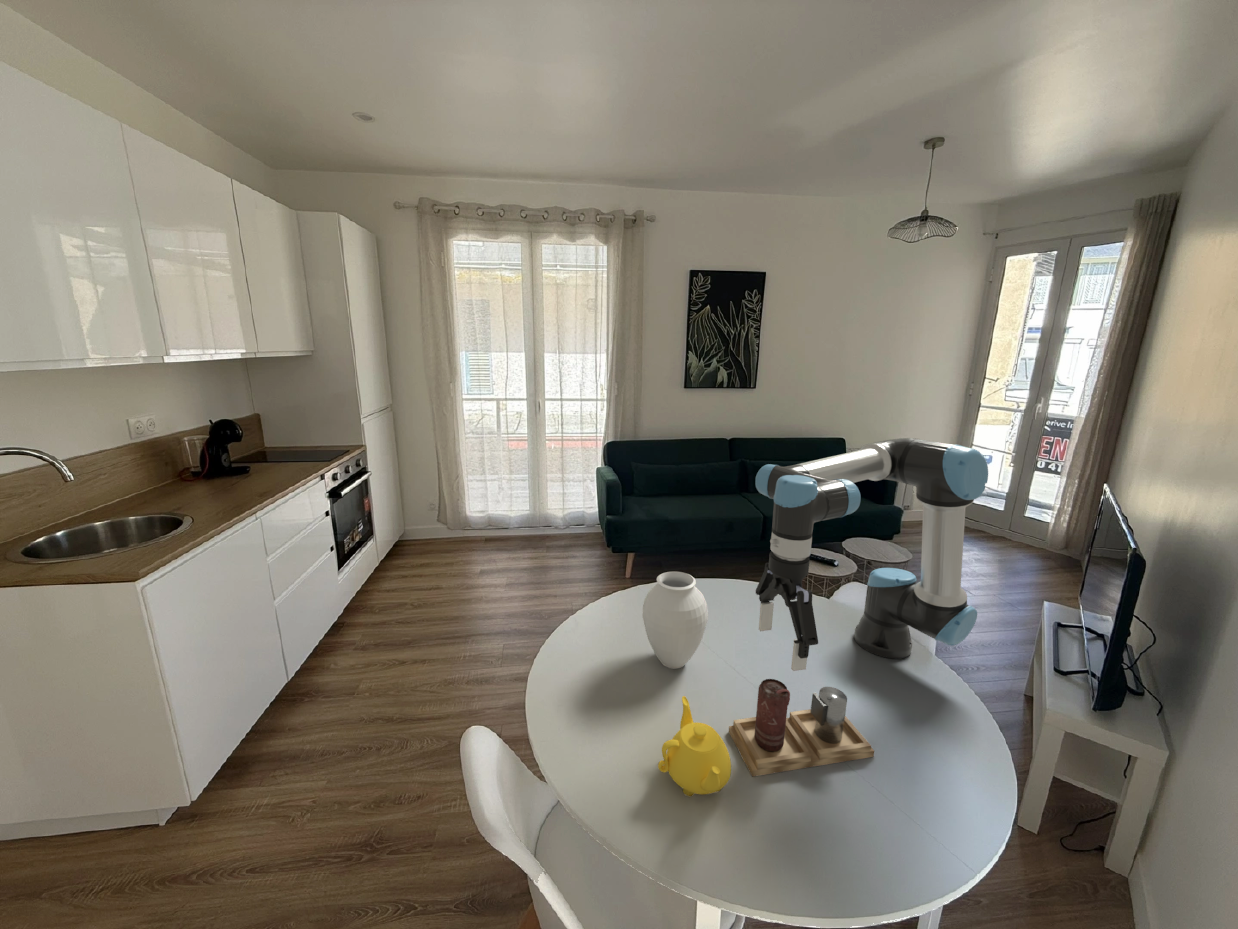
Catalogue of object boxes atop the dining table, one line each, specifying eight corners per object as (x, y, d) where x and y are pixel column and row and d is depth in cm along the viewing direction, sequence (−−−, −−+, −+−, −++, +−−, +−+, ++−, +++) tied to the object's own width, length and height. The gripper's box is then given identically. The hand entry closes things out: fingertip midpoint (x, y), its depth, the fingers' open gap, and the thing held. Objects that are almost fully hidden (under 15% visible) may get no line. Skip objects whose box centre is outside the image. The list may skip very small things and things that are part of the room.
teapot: (646, 743, 106) (647, 699, 103) (709, 734, 108) (712, 691, 106) (672, 831, 86) (674, 779, 84) (748, 817, 89) (753, 767, 86)
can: (786, 755, 101) (793, 699, 98) (756, 751, 102) (760, 695, 99) (782, 733, 107) (787, 679, 103) (752, 729, 108) (757, 676, 104)
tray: (838, 715, 114) (840, 705, 113) (873, 756, 103) (875, 745, 102) (728, 731, 109) (729, 720, 108) (752, 776, 98) (753, 764, 97)
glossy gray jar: (831, 722, 110) (836, 685, 108) (847, 742, 105) (852, 703, 102) (806, 726, 109) (810, 688, 106) (820, 746, 103) (825, 706, 101)
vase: (632, 671, 129) (633, 587, 123) (652, 636, 145) (655, 560, 139) (697, 689, 123) (701, 601, 117) (711, 650, 139) (715, 571, 133)
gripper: (744, 531, 105) (738, 617, 110) (808, 585, 82) (796, 691, 87) (775, 529, 107) (768, 614, 112) (847, 581, 83) (833, 686, 88)
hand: (780, 648), depth 99 cm, fingers open, 13 cm apart
